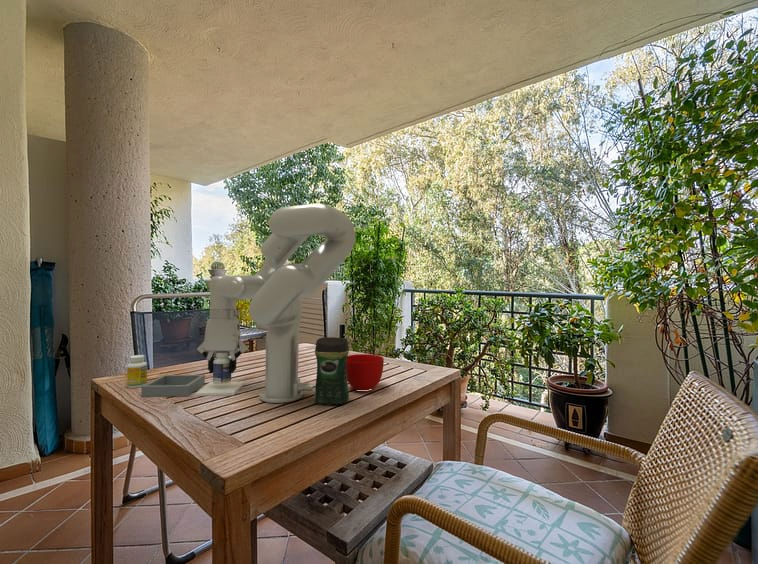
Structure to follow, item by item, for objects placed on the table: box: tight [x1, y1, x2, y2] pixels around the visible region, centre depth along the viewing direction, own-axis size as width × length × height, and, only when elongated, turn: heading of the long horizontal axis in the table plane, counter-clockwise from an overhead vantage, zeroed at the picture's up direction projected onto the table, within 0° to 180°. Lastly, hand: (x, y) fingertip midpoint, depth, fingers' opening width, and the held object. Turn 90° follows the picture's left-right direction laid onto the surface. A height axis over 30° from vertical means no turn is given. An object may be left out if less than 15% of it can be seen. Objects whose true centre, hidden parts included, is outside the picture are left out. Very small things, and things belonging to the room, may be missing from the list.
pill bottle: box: [212, 351, 232, 385], centre depth 113 cm, size 5×5×10 cm
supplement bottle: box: [126, 354, 148, 389], centre depth 116 cm, size 5×5×10 cm
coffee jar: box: [314, 336, 350, 405], centre depth 104 cm, size 10×8×19 cm
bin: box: [140, 374, 206, 398], centre depth 112 cm, size 13×13×3 cm
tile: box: [194, 381, 246, 397], centre depth 113 cm, size 11×12×1 cm
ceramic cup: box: [346, 353, 385, 390], centre depth 119 cm, size 13×17×10 cm
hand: (222, 371), depth 113 cm, fingers closed on pill bottle, 5 cm apart
